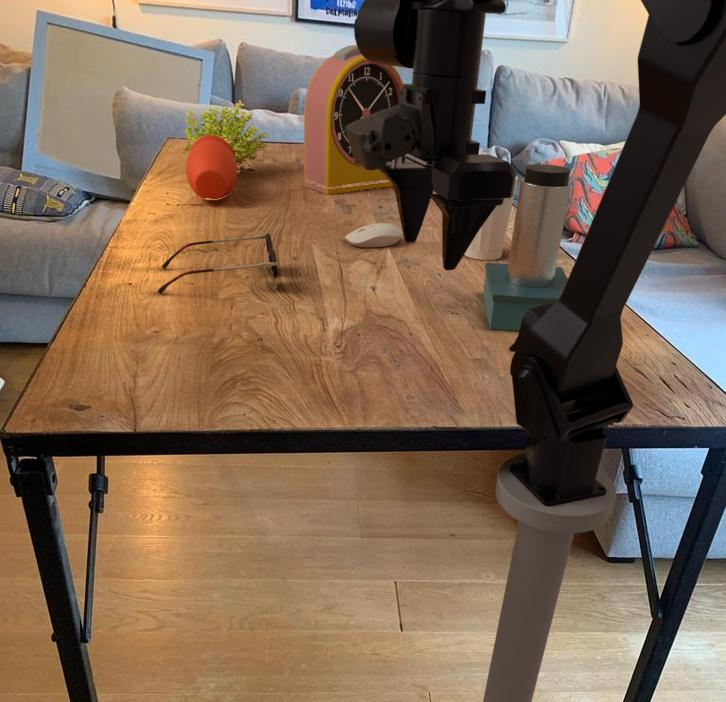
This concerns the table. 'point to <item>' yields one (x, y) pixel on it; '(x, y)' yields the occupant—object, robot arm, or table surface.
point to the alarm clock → (344, 117)
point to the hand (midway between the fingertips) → (428, 255)
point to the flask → (538, 225)
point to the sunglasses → (271, 258)
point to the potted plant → (218, 151)
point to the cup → (492, 232)
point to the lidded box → (515, 297)
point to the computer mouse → (375, 235)
